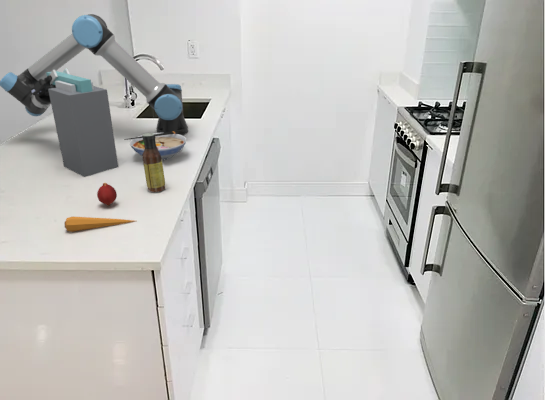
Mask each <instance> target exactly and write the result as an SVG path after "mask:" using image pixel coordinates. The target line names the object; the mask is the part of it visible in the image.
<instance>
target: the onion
mask: <svg viewBox="0 0 545 400" xmlns="http://www.w3.org/2000/svg"><path fill="white" fill-rule="evenodd" d="M96 195H97V199H98V201H99V202H100V203H102V204H104V205H105V206H107V207H108V206H111V205H112V204H113V203H114V202H115V201H116V199H117V197H118V195H117V190H116V188H115V187H113V186H112V185H111V184H109V183H108V182H103V183H102V185H101V186H100V187H99V188H98V190H97V193H96Z"/></svg>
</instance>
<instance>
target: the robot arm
mask: <svg viewBox="0 0 545 400" xmlns="http://www.w3.org/2000/svg"><path fill="white" fill-rule="evenodd" d="M85 49H87V50H89V52H91V53H92V54H93V55H94V56H99V57H102V58H103V59H104V61H106V62H107V63H108V64H110V66H112V68H114V69H115V70H116V71H117V72H118V73H119V74H120V75H121V76H122V77H123V78H125V79H126V81H128V82H129V83H130V84H131V85H132V86H133V87H134V88H135V89H136V90H138V91H139V92H140V93H141V94H142V95H143V96H144V97H145V98H146V99H145V101H146V103H147V105H149V106H150V107H151V108H152V109H153V110H154V111H155V114H156V115H157V116H158V120H157V123H156V127H155V129H156V133H166V132H172V131H179V130H183V131H184V133H178V134H180V135H182V134H183V135H185V133H186V134H187V133H188V132H189V127H188V124H187V121H186V119H185V117H184V108H183V107H184V106H183V95H182V92H183V90H182V86H181V85H180V84H177V83H164V82H159V81H158V80H157V79H156V78H155V76H152V74H151V73H149V71H147V70H146V69H145V68H144V67H143V66H142V65H141V64H140V63H139V62H138V61H137V60H136V59H135V58H134V57H133V56H132V55H131V54H130V53H129V52H128V51H127V50H125V49H124V47H122V45H120V44H119V43H118V42H117V41H116V37H115V34H114V33H113V32H112V31H111V30H110V29H109V28H108V25H107V23H106V21H105V19H103V18H102V17H101V16H99V15H97V14H93V13H92V14H90V13H89V14H84V15H83V14H82V15H80V16H78V17H77V18H76V19H75V20H74V22H73V23H72V26H71V33H70V35H69V36H67V37H66V38H64V39H63V40H62V41H61V42H60V43H58V44H57V45H56V46H54V47H53V48H52V49H50V51H48V52H47V53H45V54H44V55H43V56H42V57H40V58H39V59H38V60H36V61H35V62H34V63H33V64H31V65H30V66H29V67H28V68H26V69H25V70H24V71H22V72H21V73H20V74H18V75H17V74H15V73H13V72H11V71H10V72H8V73H6V74H5V75H4V76H3V77H2V78H1V80H0V87H1V88H2V90H4V91H5V92H6V93H8V94H9V95H11V96H12V97H13V98H14V99H16V100H17V101H18V102H20V103H21V104H22V105H23V106H24V107H25V108H24V109H25V111H26V112H27V114H29V116H32V117H39V116H42V115H43V114H45V112H46V111H48V108H49V107H50V106H51V101H50V96H49V91H48V89H51V88H56V85H53V82H54V81H55V80H56V78H57V77H58V76H57V73H56V71H58V70H59V69H60V68H62V67H63V66H65V65H66V64H67V63H69V62H70V61H71V60H72V59H73V58H75V57H77V56H78V55H79V54H80V53H82V51H84V50H85ZM46 72H51V73H50V75H49V76H47V74H46ZM62 73H66V74H70V75H71V73H70V71H69V69H68V68H67V67H66V68H65V69H64V70H63V71H62ZM50 83H51V84H50ZM183 135H182V136H183Z"/></svg>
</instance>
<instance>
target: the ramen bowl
mask: <svg viewBox="0 0 545 400" xmlns="http://www.w3.org/2000/svg"><path fill="white" fill-rule="evenodd" d="M153 133H154V134H155V142H156V146H157V148H158V151H159V153H160V155H161V157H162V161H164V159H165V160H167V158H168V159H169V158H172V157H175V156H176V155H178V154H179V153H180V152H181V151H182V149H183V148H184V147H185V145H186V144H187V138H186V136H184V135H180V134H178V133H184V131H183V130H179V131H172V132H166V133H157V132H153ZM142 135H143V134H142ZM142 135H138V136H136V137H131V138H123V139H124V141H126V140H127V141H128V140H129V145H130V147H131V148H132V150H133V151H134V152H135V153H137V154H138V155H139V156H141V157H143V152H144V149H145V147H144V140H143V136H142Z"/></svg>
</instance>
